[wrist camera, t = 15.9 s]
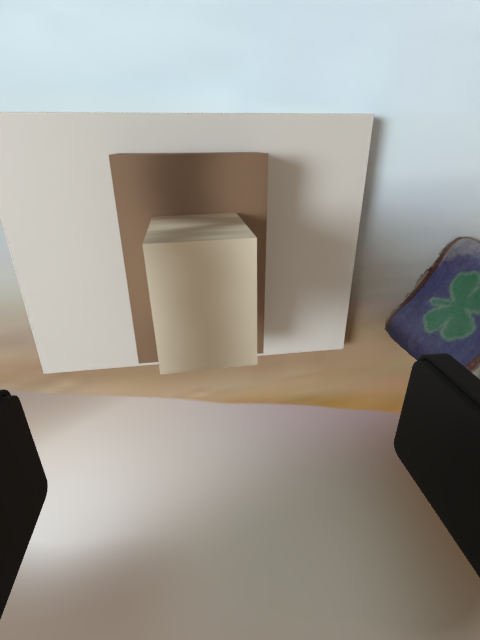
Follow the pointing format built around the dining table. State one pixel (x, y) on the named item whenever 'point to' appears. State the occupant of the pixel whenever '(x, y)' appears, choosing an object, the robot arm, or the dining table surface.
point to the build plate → (104, 236)
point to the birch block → (202, 291)
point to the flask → (444, 308)
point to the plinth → (184, 199)
